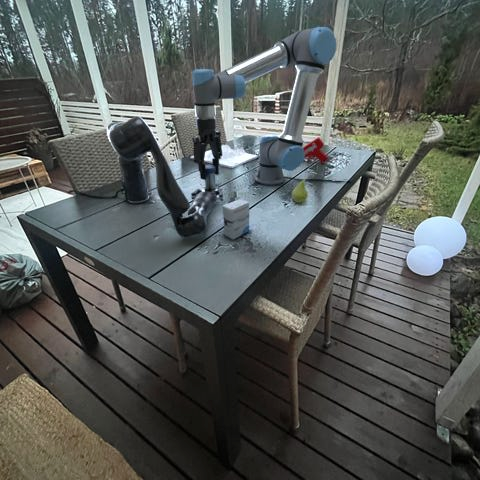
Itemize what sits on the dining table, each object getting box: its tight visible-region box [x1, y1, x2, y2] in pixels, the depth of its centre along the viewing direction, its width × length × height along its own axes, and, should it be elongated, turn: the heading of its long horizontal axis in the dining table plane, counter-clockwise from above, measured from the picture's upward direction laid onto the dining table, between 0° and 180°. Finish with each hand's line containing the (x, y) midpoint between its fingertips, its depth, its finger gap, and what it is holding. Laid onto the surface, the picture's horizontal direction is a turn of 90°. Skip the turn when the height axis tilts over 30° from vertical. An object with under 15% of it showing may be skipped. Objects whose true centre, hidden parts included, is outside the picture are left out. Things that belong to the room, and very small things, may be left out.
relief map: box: [190, 144, 259, 169], centre depth 178 cm, size 27×35×5 cm
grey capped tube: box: [204, 172, 218, 206], centre depth 117 cm, size 4×4×16 cm
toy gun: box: [302, 136, 329, 165], centre depth 169 cm, size 18×4×15 cm
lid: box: [205, 164, 216, 173], centre depth 113 cm, size 5×5×2 cm
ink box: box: [222, 198, 250, 240], centre depth 96 cm, size 8×5×12 cm, turn 134°
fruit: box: [291, 174, 311, 204], centre depth 118 cm, size 7×8×12 cm
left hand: (212, 188), depth 120 cm, fingers closed on grey capped tube, 4 cm apart
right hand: (209, 176), depth 114 cm, fingers open, 7 cm apart
